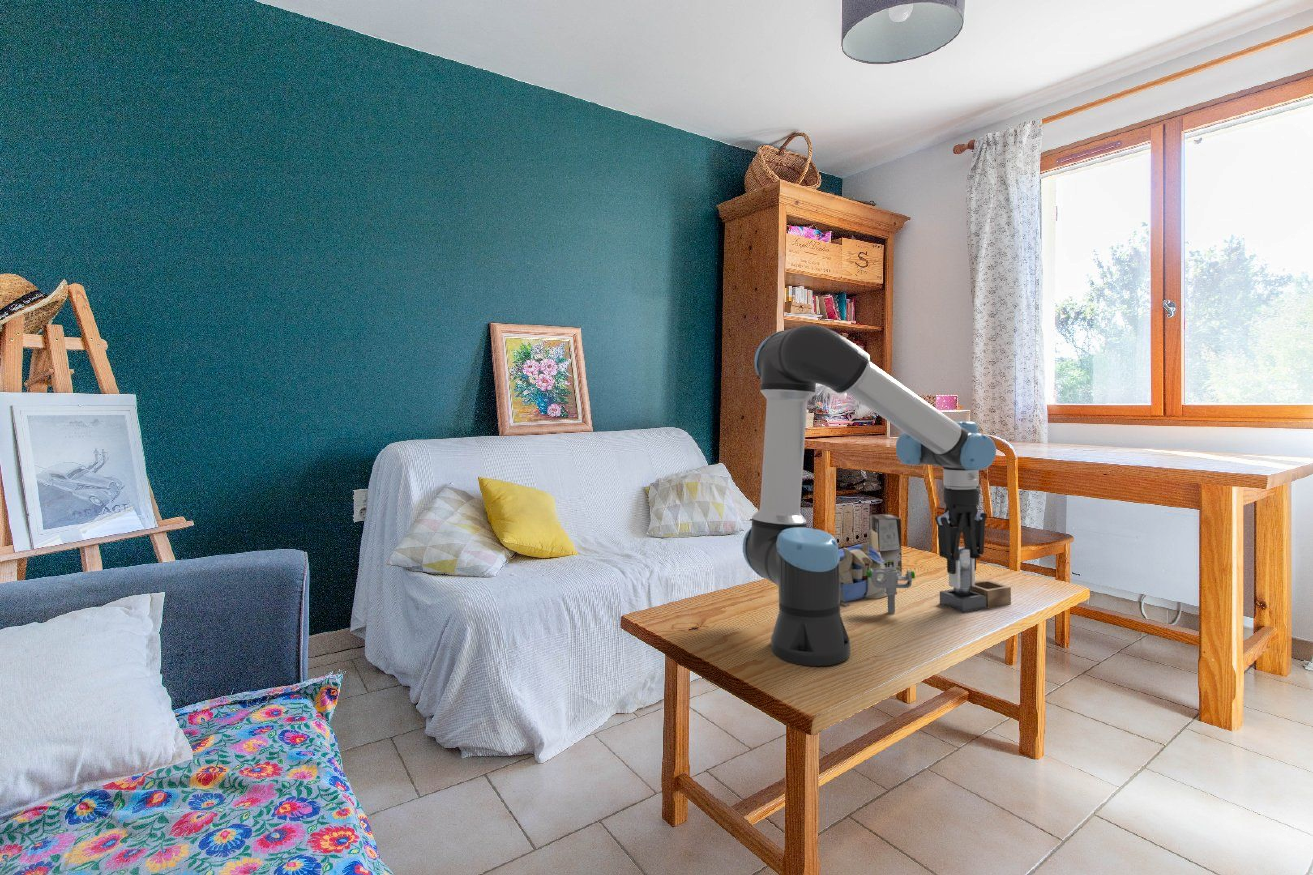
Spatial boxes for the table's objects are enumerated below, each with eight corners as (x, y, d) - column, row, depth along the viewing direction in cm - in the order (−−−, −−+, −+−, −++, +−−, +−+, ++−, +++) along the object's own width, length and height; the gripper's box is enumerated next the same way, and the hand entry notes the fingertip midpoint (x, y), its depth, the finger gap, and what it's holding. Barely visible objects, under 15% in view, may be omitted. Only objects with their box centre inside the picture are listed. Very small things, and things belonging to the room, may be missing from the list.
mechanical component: (916, 615, 144) (915, 572, 143) (869, 614, 146) (868, 571, 145) (913, 611, 146) (912, 568, 146) (867, 610, 148) (866, 568, 148)
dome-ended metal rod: (961, 606, 147) (961, 550, 146) (950, 601, 150) (949, 547, 149) (974, 604, 148) (973, 549, 147) (962, 599, 151) (961, 546, 151)
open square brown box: (988, 607, 147) (987, 590, 147) (964, 599, 154) (964, 583, 153) (1010, 603, 149) (1010, 587, 149) (986, 595, 156) (986, 579, 156)
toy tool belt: (831, 616, 145) (830, 548, 145) (782, 599, 159) (780, 537, 158) (904, 595, 159) (903, 532, 158) (853, 581, 173) (851, 523, 172)
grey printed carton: (903, 576, 176) (901, 518, 175) (879, 576, 176) (878, 519, 175) (892, 567, 185) (891, 513, 184) (870, 568, 185) (869, 513, 184)
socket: (962, 612, 145) (962, 599, 144) (939, 603, 151) (939, 591, 151) (986, 608, 147) (986, 595, 147) (962, 599, 153) (962, 587, 153)
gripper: (944, 491, 141) (945, 594, 142) (1001, 486, 147) (1002, 585, 148) (920, 487, 148) (921, 586, 150) (975, 483, 154) (976, 577, 155)
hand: (961, 585), depth 149 cm, fingers closed on dome-ended metal rod, 4 cm apart
